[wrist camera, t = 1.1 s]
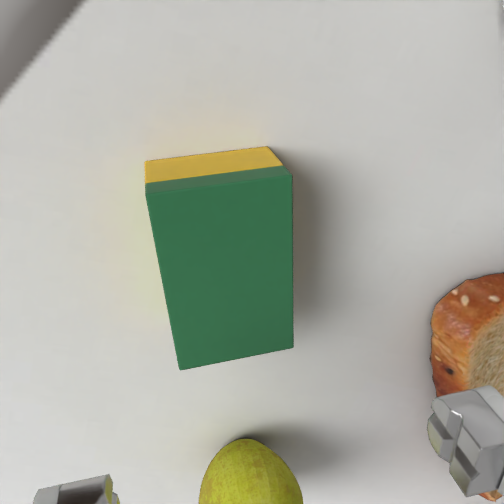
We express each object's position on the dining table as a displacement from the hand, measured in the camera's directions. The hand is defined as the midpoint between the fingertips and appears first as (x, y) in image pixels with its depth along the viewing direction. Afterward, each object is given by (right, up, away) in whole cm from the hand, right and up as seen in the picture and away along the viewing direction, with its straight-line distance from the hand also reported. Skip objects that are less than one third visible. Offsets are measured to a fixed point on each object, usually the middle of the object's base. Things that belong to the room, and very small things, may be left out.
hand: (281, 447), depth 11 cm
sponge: (-2, +5, +9) cm, 11 cm away
